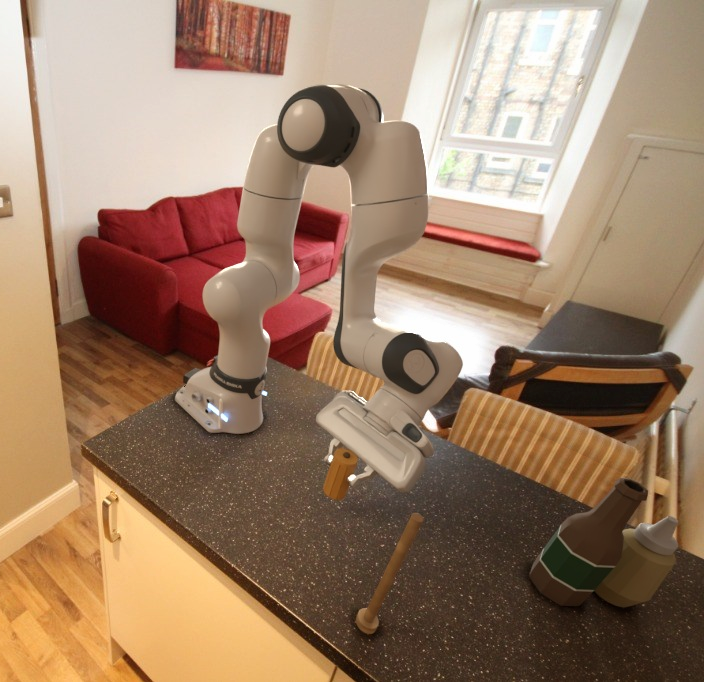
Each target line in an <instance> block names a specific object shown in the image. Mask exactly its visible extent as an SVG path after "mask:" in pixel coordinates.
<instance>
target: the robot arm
mask: <svg viewBox="0 0 704 682" xmlns="http://www.w3.org/2000/svg"><path fill="white" fill-rule="evenodd" d="M314 166H321V167H327V168H338V167H339V166H340V167H341V168H343V169H344V170H345V172H346V174H347V177H348V180H349V188H350V213H351V214H350V215H351V216H350V220H351V221H350V229H349V234H348V238H347V240H346V243H345V244H344V248H343V253H342V261H341V279H340V299H339V300H340V301H339V302H340V303H339V313H338V320H337V324H336V328H335V331H334V335H333V341H332V342H333V343H332V345H333V351H334V354H335V356H336V358H337V359H338V360H339V362H341V363H342V364H344V365H345V366H348V367H351V368H354V369H356V370H360V371H362V372H364V373H367V374H369V376H373V377H375V378H377V379H380V380H382V381H383V385H382V386H380V387H379V388H378V389H377V390H376V392H375V393H374V394H373V395H372V396H371V397H370V398H369V400H368V401H367V400H365V399H364V398H363V397H361V396H358V394H357V393H355V392H354V391H352V390H340V391H339V392H338V393H337V394H336V395H335V396H334V397H333V399H332V400H331V401H330V402H329V403H328V404H326V405H325V406H324V407H323V408H322V409H321V410H320V411H319V412H318V413H317V414H316V417H315V422H316V424H317V425H318V426H319V427H320V428H322V429H323V430H324V431H326V433H327V434H329V435H331V437H333V438H332V440H331V441H330V443H329V448H328V453H327V454H326V455H325V457H324V458H323V462H324V463H326V464H327V465H328V466H329V467H330V465H331V462H332V459H333V455H334V454H335V451H336V450H337V449H340V448H344V447H345V449H348V450H351V451H352V452H353V453H354V454H355V455H357V457H358V460H360V461H362V462H363V463H364V464H365V465H366V466H365V468H363V471H364V472H363V473H362V472H361V473H360V474H357V475H355V473H354V474H353V473H352V474H351V475H350V477H348V478H347V479H346V481H347V482H348V483H349V484H350V485H349V486H351V487H352V488H354V489H355V488H357V487H358V486H359V484H360V483H361V482H365V481H369V480H371V479H374V478H375V476H376V475H377V474H378V475H379V476H380V477H381V478H382V479H383V480H385V481H386V482H387V483H388V484H389V485H390V486H392V487H393V488H394V489H396V490H397V491H398V492H399V493H402V494H404V493H409V492H410V491H411V490H412V489H413V488H414V486H415V485H416V484H417V483H418V482H419V481H420V478H421V477H422V476H423V474H424V472H425V470H426V467H427V460H426V459H429V458H430V457H431V456H432V455H433V454H434V453H435V449H434V446H433V444H432V442H431V441H430V439H429V438H428V437H427V435H426V434H425V432H424V431H423V429H422V428H421V427H420V426H419V425H420V424H421V423H422V422H423V420H424V418H425V416H426V414H427V413H428V411H429V410H430V409H431V408H432V407H434V406H435V405H437V404H438V403H439V402H440V401H441V400H442V399H443V398H444V396H446V394H447V393H448V392H449V390H450V389H451V388H452V387H453V385H454V384H455V382H456V381H457V379H458V377H459V376H460V374H461V372H462V369H463V365H464V361H463V359H462V357H461V355H460V354H459V352H458V351H457V350H456V348H454V347H453V345H451V344H450V343H449V342H447V341H445V340H443V339H441V338H438V337H427V336H422V335H420V334H418V333H417V332H415V331H412V330H410V329H407V328H403V327H400V326H398V325H393V324H389V323H386V322H383V321H381V320H380V319H379V318H378V316H377V315H376V312H375V303H376V293H377V291H376V289H377V280H378V279H377V278H378V274H379V270H380V269H381V267H382V266H383V264H384V263H386V262H387V261H389V260H391V259H393V258H396V257H397V256H400V255H402V254H404V253H406V252H407V251H409V250H410V249H411V248H413V247H414V246H415V245H416V244H417V243H418V242H419V241H420V240H421V238H422V237H423V235H424V234H425V232H426V228H427V224H428V220H429V208H430V207H429V174H428V164H427V158H426V152H425V147H424V142H423V138H422V134H421V132H420V129H419V128H418V127H417V126H416V125H414V124H413V123H411V122H408V121H404V120H386V121H384V111H383V108H382V105H381V103H380V101H379V100H378V99H377V97H376V96H375V95H374V94H373V93H372V92H370V91H369V90H366V89H364V88H360V87H355V86H352V85H347V84H340V83H338V84H332V85H326V84H314V85H309V86H306V87H304V88H301V89H300V90H298V91H296V92H295V93H294V94H292V95H291V96H290V97H289V98H288V99H287V100H286V101H285V103H284V105H283V106H282V108H281V110H280V112H279V115H278V119H277V122H276V124H272V125H269V126H267V127H265V128H263V130H261V131H260V132H259V134H258V135H257V137H256V140H255V142H254V145H253V147H252V150H251V154H250V157H249V160H248V164H247V168H246V172H245V176H244V181H243V186H242V192H241V197H240V205H239V209H238V215H237V221H236V228H237V229H236V230H237V232H238V233H239V235H240V236H241V238H243V239H244V242H245V255H244V259H243V260H242V262H240V263H237V264H234V265H231V266H229V267H225V268H224V269H221V270H220V271H218V272H217V273H215V275H213V276H212V277H211V278H210V279H208V280H207V281H206V283H205V284H204V287H203V289H202V303H203V306H204V309H205V311H206V313H207V314H208V316H209V317H210V318H212V320H213V321H215V322H216V323H217V325H218V331H219V341H218V351H217V355H215V356H214V357H212V358H211V359H210V360H209V361H207V362H206V367H205V368H202V369H200V368H198V367H194V368H193V369H191V370H190V371H188V372H186V373H185V374H183V377H182V383H183V384H185V385H186V386H185V385H183V386H182V387H180V388H179V389H178V390H177V392H176V394H175V396H174V401H175V402H176V403H177V404H178V405H179V406H180V407H181V408H182V409H183V410H184V411H185V412H187V413H188V415H190V416H191V417H192V418H193V419H194V420H195V421H196V422H197V423H198V424H199V425H200V426H201V427H202V428H203V429H205V430H206V431H207V432H208V433H211V434H217V433H228V434H234V435H239V434H241V435H242V434H247V433H251V432H254V431H256V430H257V429H258V428H260V427H261V425H262V424H263V422H264V414H263V405H262V400H263V396H267V395H268V392H267V391H264V388H265V385H266V379H267V373H268V368H267V364H268V363H267V362H268V358H269V354H270V353H269V352H270V346H271V337H270V335H269V333H268V332H267V331H266V329H264V326H263V319H264V316H265V314H266V313H267V311H268V310H270V309H272V308H273V307H276V306H277V305H279V304H281V303H284V302H285V301H286V300H287V299H289V297H290V296H291V295H292V294H293V293H294V292H295V291H296V290H297V288H298V287H299V284H300V279H301V274H300V273H301V272H300V270H299V267H298V264H297V263H296V262H295V259H294V258H295V257H294V243H295V242H294V240H295V233H296V228H297V225H298V220H299V215H300V211H301V207H302V202H303V198H304V193H305V190H306V184H307V181H308V177H309V175H310V173H311V170H312V169H313V167H314ZM184 386H185V387H184Z"/></svg>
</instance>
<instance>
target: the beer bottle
mask: <svg viewBox="0 0 704 682" xmlns="http://www.w3.org/2000/svg"><path fill="white" fill-rule="evenodd" d="M648 495H649V490H648V489H647V488H646V486H644V485H643V484H641V483H640V482H638V481H636V480H633V479H631V478H628V477H619V478H618V479H616V480H614V485H613V487H612V488H611V489H610V490H609V491H608V493H607V494H605V496H604V497H603V498H602V499H601V500H600V501H599V502H598V504H597V505H596V506H594V507H593V508H592V509H590V510H589V511H586V512H578V513H574V514H572V515H570V516H568V517H567V518H565V520H564V521H563V522H562V523H561V524H560V525H559V526H558V528H557V530H556V531H555V532H554V534H553V535H552V537H551V538H550V539H549V540H548V542H547V543H546V544H545V546H544V547H543V549H542V550H541V551H540V553H539V554H538V556H537V557H536V558H535V560H534V562H533V563H532V565H531V569H530V571H529V575H528V577H529V579H530V581H531V582H532V583H533V585H534V586H535V588H536V590H537V591H538V592H539V593H540V594H541V595H542V596H544V597H545V598H547V599H549V600H550V601H552V602H554V603H555V604H557V605H558V606H561V607H580V606H581V605H582V604H583V603H584V602H585V601H586V600H587V599H588V598H589V597H590V596H591V595H592V593H593V592H594V590H595V589H596V588H597V587H598V585H599V584H600V583H601V582H602V581H603V580H604V579H605V578H606V576H607V575H608V574H609V573H610V572H611V571H612V570H613V568H614V567H615V566H616V565H617V563H618V562H619V560H620V559H621V556H622V550H623V542H624V536H623V532H622V531H623V530H624V528H625V526H626V525H627V523H629V521H630V519H631V518H632V516H633V515H634V513H635V512H636V511H637V509H638V507H639V506H640V505H641V503H642V502H647V499H648Z"/></svg>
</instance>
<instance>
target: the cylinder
mask: <svg viewBox="0 0 704 682" xmlns="http://www.w3.org/2000/svg"><path fill="white" fill-rule="evenodd" d="M358 462H359V458H358V457H357V455H355V454H354V453H353V452H352V451H351V450H348V449H347V448H344V447H342V448H340V449H338V448H337V450H336V451H335V454H334V455H333V459H332V462H331V465H330V466H329V468H328V471H327V474H326V478H325V481H324V483H323V488H322V489H323V493H324V494H325V495H326V496H327V498H328V499H331V500H333V501H334V500H335V501H343V500H344V499H345V497H346V495H347V494H348V493H347V492H348V491H349V487H350V486H351V485H350V484H349V483H348V482H347V481H346V479H347V478H348V477H350V475H351V474H352V473H353V474H354V475H355V471H356V469H357V466H358Z"/></svg>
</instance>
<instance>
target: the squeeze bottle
mask: <svg viewBox="0 0 704 682" xmlns="http://www.w3.org/2000/svg"><path fill="white" fill-rule="evenodd" d="M678 524H679V520H678V519H677V518H675V517H674V516H672V515H668V516H666V517H664V518H662V519H661V520H659V521H657V522H656V523H654V524H652V523H650V522H641V523H639V524H638V525H637V527H635V528H625V529H623V531H622V532H623V536H624V542H623V550H622V556H621V559H620V560H619V562H618V563H617V565H616V566H615V567H614V568H613V570H612V571H611V572H610V573H609V574H608V575H607V576H606V578H605V579H604V580H603V581H602V582H601V583H600V584H599V585H598V587H597V588H596V589H595V590H594V591H593V592H594V593H595V595H597V596H598V597H599V598H601V599H602V600H604V601H605V602H606V603H608V604H611V605H613V606H615V607H619V608H628V607H632V606H635V605H638V604H643V603H646V602H649V601H650V600H651V599H652V598H653V596H654V594H655V593H656V592H657V590H658V589H659V587H660V586H661V585H662V583H663V582H664V581H665V578H666V577H667V576H668V575H669V573H670V571H672V569H673V567H674V566H675V564H676V563H677V558H676V555H675V553H674V552H676V550H678V548H679V543H678V540H677V539H676V538H675V537H674V534H675V531H676V529H677V526H678Z"/></svg>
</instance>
